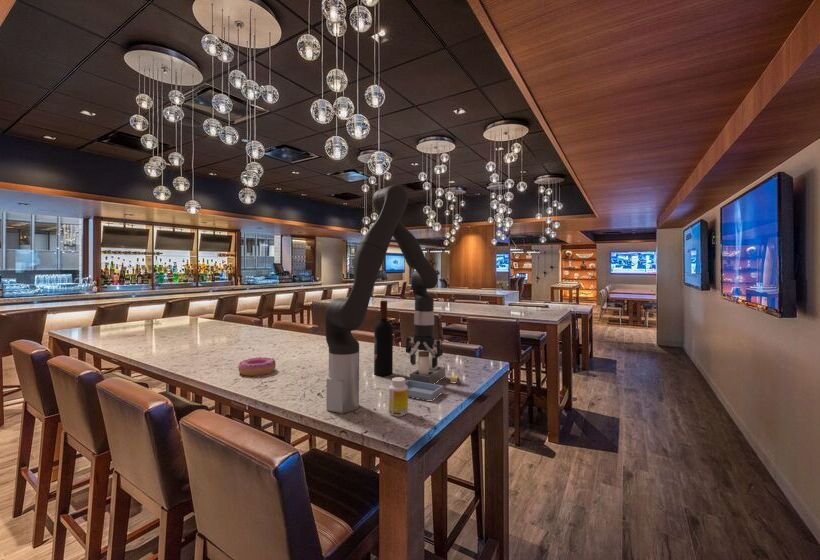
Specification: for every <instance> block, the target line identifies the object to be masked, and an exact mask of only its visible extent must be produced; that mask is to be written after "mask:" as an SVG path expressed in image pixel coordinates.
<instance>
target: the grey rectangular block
mask: <svg viewBox="0 0 820 560" xmlns="http://www.w3.org/2000/svg"><path fill="white" fill-rule="evenodd" d="M444 376H445V377H446V367H443V366H438V370H437V371H434V370H429V375H428V376H424V375H418V369H416V370H415V371H412V372H411V373H409V380H412V381H418V382H424V383H430V384H434V383H436V382H437V381H438V380H440V379H441V378H443V377H444ZM436 384H437V383H436Z"/></svg>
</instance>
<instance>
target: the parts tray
mask: <svg viewBox="0 0 820 560" xmlns="http://www.w3.org/2000/svg"><path fill="white" fill-rule="evenodd" d="M405 385H407V386H408V397H414V398H419V399H424V400H433V399H434V398H436V397H437V396H438V395H439V394H440V393H442V392H443V393H444V385H442V384H441V385H440V384H437V383H436V384H430V383H424V382H418V381H412V380H410V379H407V380H405ZM443 393H442V394H443ZM438 397H439V396H438ZM438 397H437V398H438ZM414 398H413V399H414ZM437 398H436V399H437ZM419 399H418V400H419ZM424 400H423V401H424ZM434 400H435V399H434ZM434 400H433V401H434Z"/></svg>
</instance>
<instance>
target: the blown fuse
mask: <svg viewBox="0 0 820 560" xmlns="http://www.w3.org/2000/svg"><path fill="white" fill-rule="evenodd" d="M417 357H418V358H417V359H418V361H417V363H418V365H417V366H418V368H417V370H418V375H424V376H428V375H429V351H428V350H427V351H425V350H419V351H418V356H417Z"/></svg>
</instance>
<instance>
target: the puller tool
mask: <svg viewBox="0 0 820 560" xmlns="http://www.w3.org/2000/svg"><path fill="white" fill-rule="evenodd" d="M451 382H457V383H458V375H457V374H455V375H453V374H451V375H450V383H451Z"/></svg>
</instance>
